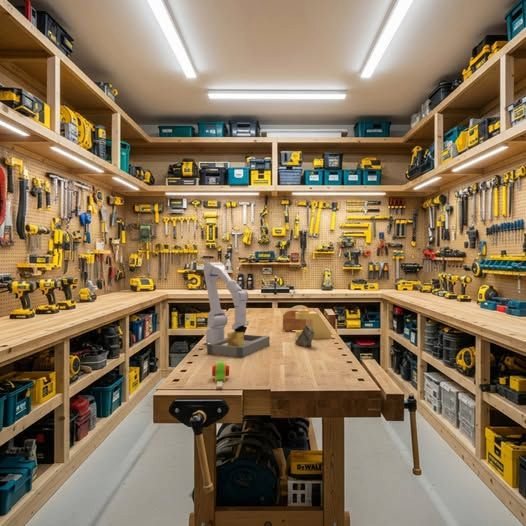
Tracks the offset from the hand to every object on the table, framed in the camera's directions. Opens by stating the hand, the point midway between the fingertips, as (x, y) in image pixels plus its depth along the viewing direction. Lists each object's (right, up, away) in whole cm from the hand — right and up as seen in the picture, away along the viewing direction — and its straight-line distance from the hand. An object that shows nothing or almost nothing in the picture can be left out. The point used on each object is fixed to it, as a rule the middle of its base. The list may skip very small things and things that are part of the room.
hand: (240, 341), depth 201 cm
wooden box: (+34, -5, +67) cm, 75 cm away
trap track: (0, -4, 0) cm, 4 cm away
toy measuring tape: (-4, -4, -55) cm, 56 cm away
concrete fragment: (+33, -4, +8) cm, 34 cm away
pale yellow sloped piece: (+41, -4, +33) cm, 53 cm away
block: (-2, -1, -4) cm, 5 cm away
